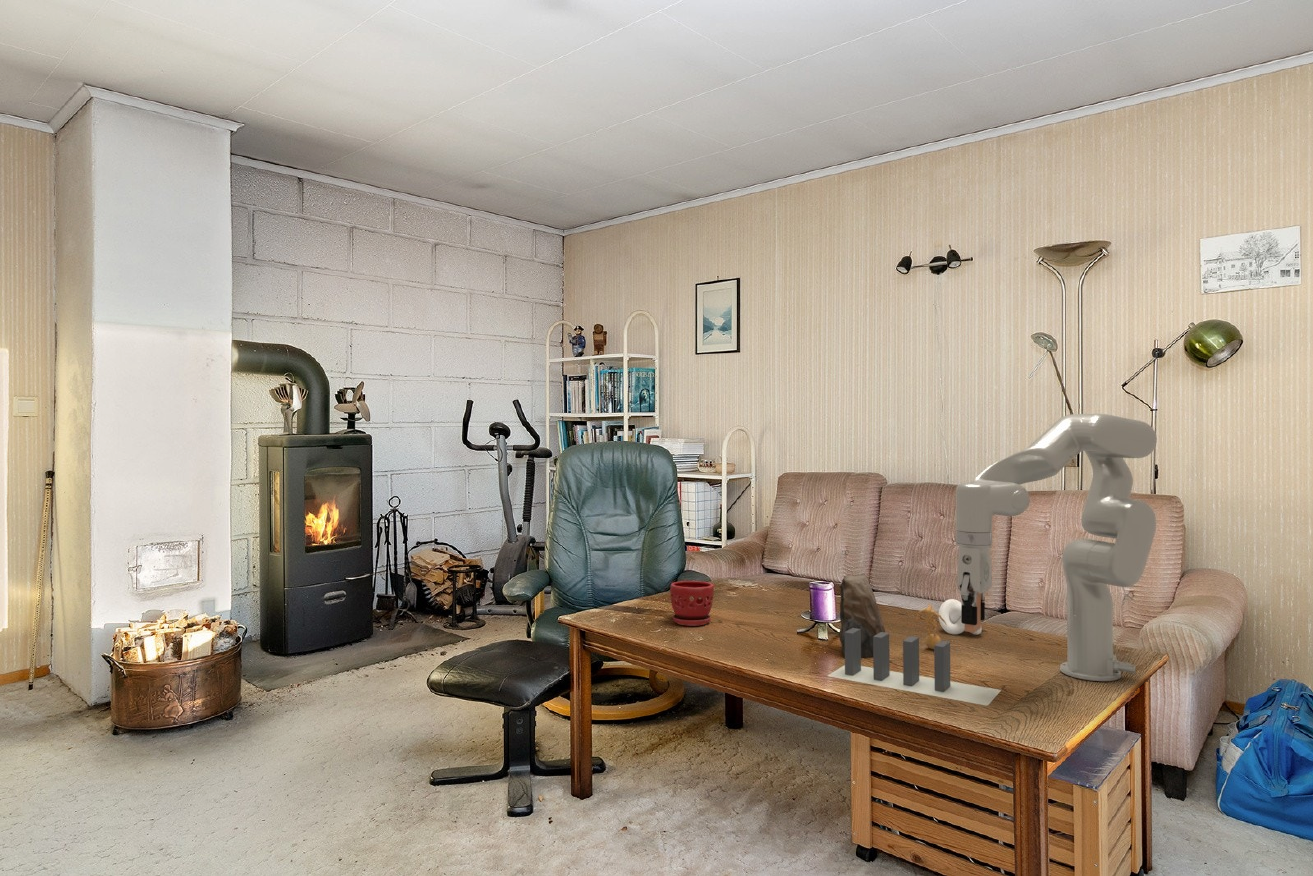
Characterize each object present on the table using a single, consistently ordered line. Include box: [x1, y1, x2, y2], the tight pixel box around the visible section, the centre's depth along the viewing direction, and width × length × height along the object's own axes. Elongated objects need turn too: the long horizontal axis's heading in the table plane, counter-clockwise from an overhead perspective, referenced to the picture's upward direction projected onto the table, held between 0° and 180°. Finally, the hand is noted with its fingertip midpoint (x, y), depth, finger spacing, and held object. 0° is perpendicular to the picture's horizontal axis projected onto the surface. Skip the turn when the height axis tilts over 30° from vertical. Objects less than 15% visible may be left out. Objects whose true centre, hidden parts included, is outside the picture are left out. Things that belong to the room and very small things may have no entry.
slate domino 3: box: [902, 635, 920, 686], centre depth 183 cm, size 2×5×10 cm, turn 144°
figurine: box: [915, 604, 947, 650], centre depth 211 cm, size 8×6×12 cm
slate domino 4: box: [933, 640, 951, 692], centre depth 179 cm, size 2×5×10 cm, turn 144°
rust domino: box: [964, 589, 982, 633], centre depth 177 cm, size 2×5×10 cm, turn 142°
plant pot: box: [669, 580, 715, 627], centre depth 244 cm, size 13×13×12 cm
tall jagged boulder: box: [838, 572, 891, 659], centre depth 209 cm, size 13×13×20 cm
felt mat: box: [827, 664, 1002, 707], centre depth 183 cm, size 36×12×1 cm, turn 54°
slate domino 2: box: [872, 631, 891, 681], centre depth 187 cm, size 2×5×10 cm, turn 144°
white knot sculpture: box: [938, 598, 983, 636], centre depth 228 cm, size 11×12×9 cm
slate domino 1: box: [844, 628, 862, 676], centre depth 191 cm, size 2×5×10 cm, turn 144°
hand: (973, 620), depth 177 cm, fingers closed on rust domino, 4 cm apart
